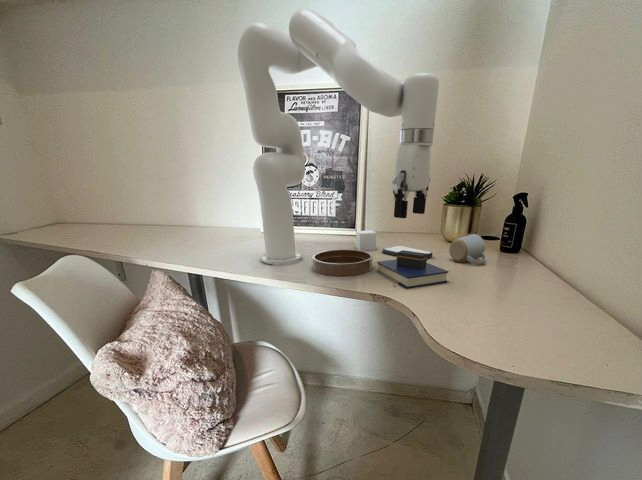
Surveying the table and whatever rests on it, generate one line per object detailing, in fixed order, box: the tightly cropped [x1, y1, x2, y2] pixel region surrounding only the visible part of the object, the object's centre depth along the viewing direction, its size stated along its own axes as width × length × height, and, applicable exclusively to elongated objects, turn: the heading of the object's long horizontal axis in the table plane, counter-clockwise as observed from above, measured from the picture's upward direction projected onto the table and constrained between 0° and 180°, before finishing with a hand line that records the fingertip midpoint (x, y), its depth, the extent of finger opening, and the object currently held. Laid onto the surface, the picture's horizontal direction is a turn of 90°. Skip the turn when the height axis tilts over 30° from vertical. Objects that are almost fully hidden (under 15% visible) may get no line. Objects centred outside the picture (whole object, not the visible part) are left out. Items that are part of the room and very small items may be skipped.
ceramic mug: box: [448, 233, 487, 266], centre depth 101 cm, size 11×8×8 cm
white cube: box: [355, 229, 377, 252], centre depth 121 cm, size 6×6×6 cm
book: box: [376, 258, 449, 289], centre depth 89 cm, size 16×12×3 cm
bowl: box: [312, 248, 374, 277], centre depth 97 cm, size 17×17×4 cm
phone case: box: [382, 245, 433, 259], centre depth 112 cm, size 9×2×16 cm
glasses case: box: [396, 250, 428, 270], centre depth 88 cm, size 7×3×4 cm, turn 52°
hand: (409, 215), depth 84 cm, fingers open, 9 cm apart
